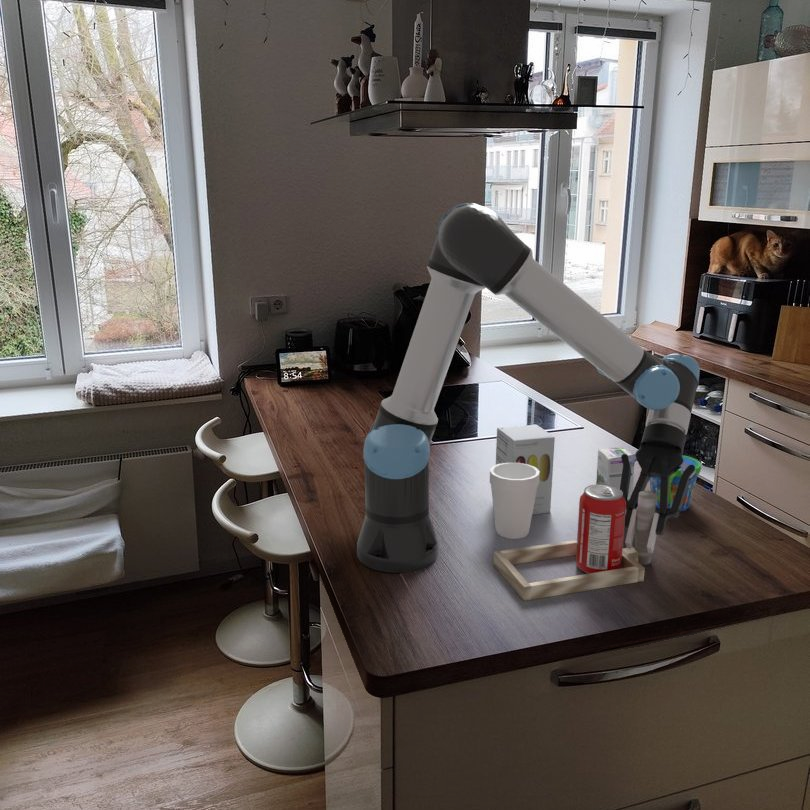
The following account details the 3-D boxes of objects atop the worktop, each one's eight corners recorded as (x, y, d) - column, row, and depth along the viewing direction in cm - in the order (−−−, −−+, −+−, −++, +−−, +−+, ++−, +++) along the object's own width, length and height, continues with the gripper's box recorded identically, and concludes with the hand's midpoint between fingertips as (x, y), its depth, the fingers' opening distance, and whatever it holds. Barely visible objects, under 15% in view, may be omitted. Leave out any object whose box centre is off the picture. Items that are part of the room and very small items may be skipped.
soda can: (587, 582, 133) (593, 502, 128) (568, 561, 140) (572, 484, 136) (629, 577, 134) (635, 497, 130) (607, 556, 142) (613, 480, 137)
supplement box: (509, 518, 158) (512, 440, 153) (492, 501, 167) (494, 426, 162) (552, 512, 160) (556, 436, 156) (533, 496, 169) (536, 422, 164)
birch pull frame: (523, 600, 126) (526, 528, 123) (493, 564, 138) (495, 497, 135) (670, 576, 134) (677, 507, 130) (629, 544, 146) (634, 480, 142)
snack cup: (657, 489, 172) (661, 446, 169) (705, 499, 166) (710, 455, 163) (632, 513, 160) (636, 467, 157) (684, 525, 154) (689, 478, 151)
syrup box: (631, 523, 155) (637, 456, 151) (603, 526, 154) (608, 457, 150) (619, 512, 160) (624, 446, 156) (592, 514, 160) (597, 448, 155)
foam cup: (503, 547, 146) (505, 483, 142) (479, 527, 154) (481, 466, 150) (546, 537, 149) (549, 475, 146) (520, 519, 157) (523, 459, 154)
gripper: (711, 446, 143) (688, 565, 134) (624, 434, 151) (596, 545, 142) (710, 427, 137) (685, 550, 128) (619, 415, 145) (590, 530, 136)
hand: (638, 547), depth 135 cm, fingers closed on birch pull frame, 3 cm apart
